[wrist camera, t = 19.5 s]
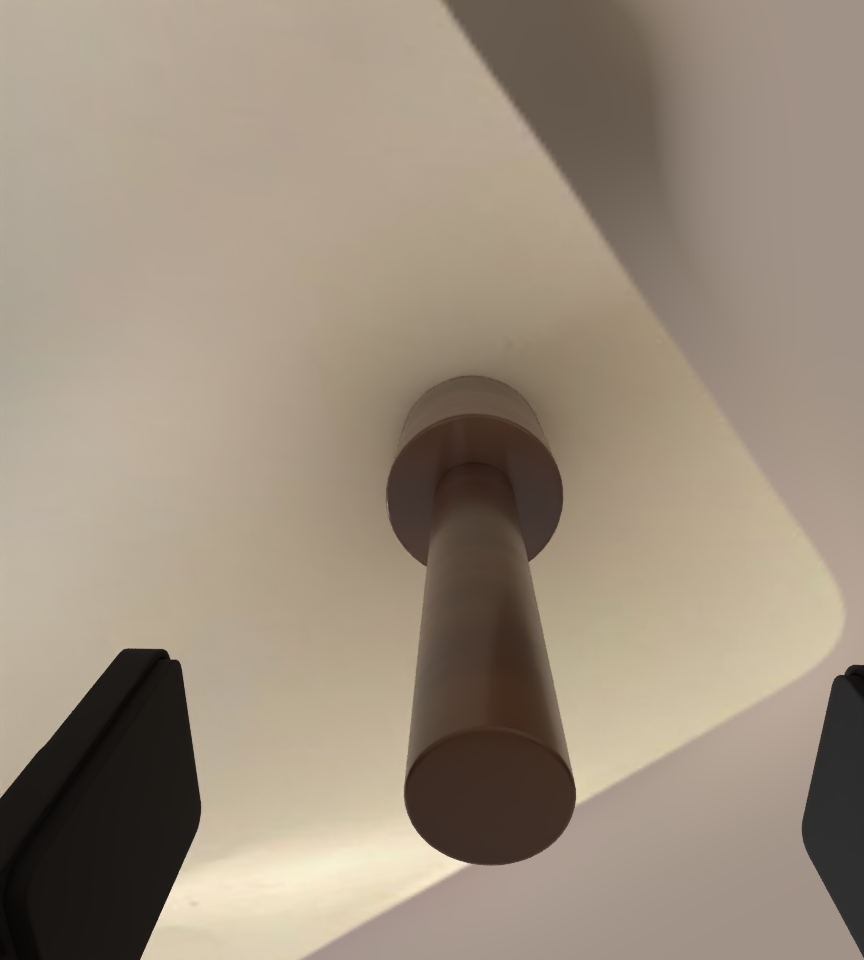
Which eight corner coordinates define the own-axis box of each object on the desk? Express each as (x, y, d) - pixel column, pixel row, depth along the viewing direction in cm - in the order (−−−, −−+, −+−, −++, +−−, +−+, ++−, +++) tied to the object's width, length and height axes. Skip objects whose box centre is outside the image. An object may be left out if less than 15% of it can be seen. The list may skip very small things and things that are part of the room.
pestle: (419, 360, 22) (342, 591, 8) (559, 395, 22) (742, 686, 8) (387, 493, 23) (271, 898, 9) (519, 524, 23) (611, 973, 9)
